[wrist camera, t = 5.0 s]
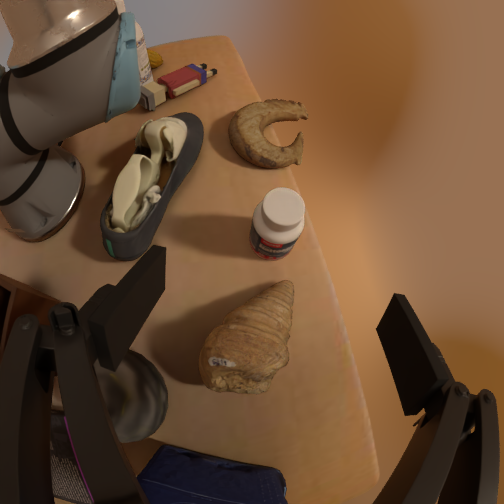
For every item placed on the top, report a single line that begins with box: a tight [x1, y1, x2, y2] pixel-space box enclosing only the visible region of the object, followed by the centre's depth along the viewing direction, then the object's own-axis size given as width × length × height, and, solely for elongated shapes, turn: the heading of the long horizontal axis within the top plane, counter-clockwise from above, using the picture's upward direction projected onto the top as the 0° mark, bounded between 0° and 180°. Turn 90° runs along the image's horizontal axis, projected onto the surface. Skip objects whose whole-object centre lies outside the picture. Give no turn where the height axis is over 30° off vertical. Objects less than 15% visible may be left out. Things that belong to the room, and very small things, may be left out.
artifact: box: [229, 99, 308, 168], centre depth 38 cm, size 12×3×15 cm
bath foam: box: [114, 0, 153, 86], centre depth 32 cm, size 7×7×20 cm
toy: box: [138, 63, 217, 111], centre depth 40 cm, size 6×4×15 cm
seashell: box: [198, 280, 294, 394], centre depth 27 cm, size 14×8×8 cm
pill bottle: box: [249, 187, 305, 260], centre depth 29 cm, size 5×5×9 cm
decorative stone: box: [93, 349, 168, 443], centre depth 22 cm, size 10×10×10 cm
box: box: [50, 410, 94, 504], centre depth 20 cm, size 14×4×20 cm
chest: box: [0, 274, 62, 376], centre depth 22 cm, size 10×9×11 cm
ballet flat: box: [100, 112, 204, 261], centre depth 31 cm, size 8×24×8 cm, turn 165°
